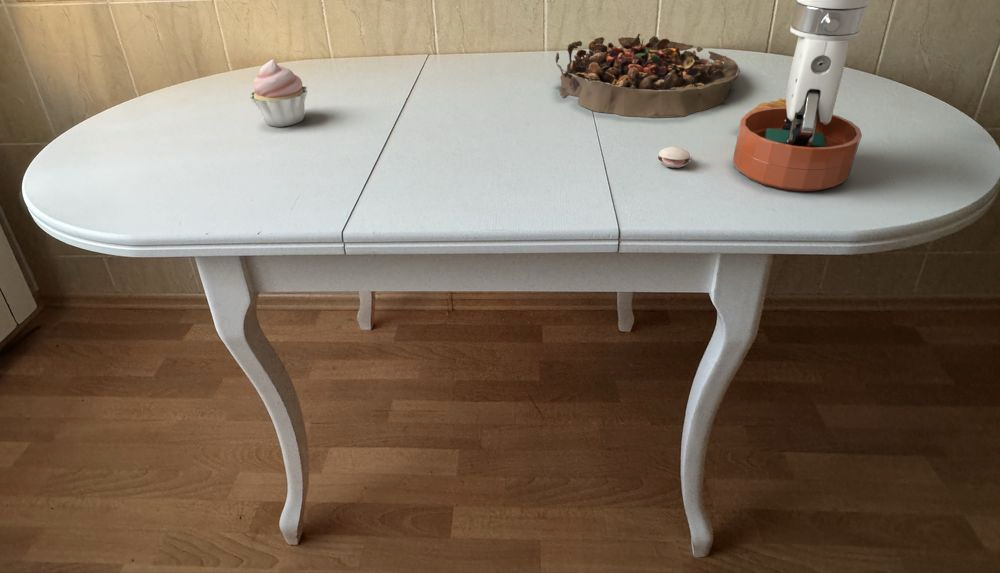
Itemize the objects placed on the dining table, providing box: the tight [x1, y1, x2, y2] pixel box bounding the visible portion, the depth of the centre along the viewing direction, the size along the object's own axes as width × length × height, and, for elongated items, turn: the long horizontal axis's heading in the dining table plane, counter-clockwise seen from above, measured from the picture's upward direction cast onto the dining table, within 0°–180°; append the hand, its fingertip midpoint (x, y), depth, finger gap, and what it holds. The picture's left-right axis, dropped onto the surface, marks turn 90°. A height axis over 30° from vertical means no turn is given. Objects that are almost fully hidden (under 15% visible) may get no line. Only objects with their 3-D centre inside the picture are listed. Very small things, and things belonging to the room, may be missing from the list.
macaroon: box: [657, 146, 691, 169], centre depth 86 cm, size 4×5×2 cm
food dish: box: [555, 33, 741, 119], centre depth 113 cm, size 35×33×8 cm
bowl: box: [733, 107, 863, 192], centre depth 82 cm, size 14×14×6 cm
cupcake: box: [249, 59, 308, 128], centre depth 102 cm, size 9×9×10 cm
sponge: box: [765, 128, 826, 147], centre depth 82 cm, size 7×4×4 cm, turn 72°
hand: (789, 161), depth 83 cm, fingers open, 5 cm apart
